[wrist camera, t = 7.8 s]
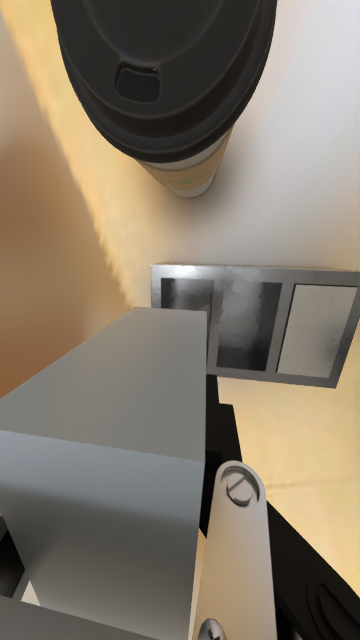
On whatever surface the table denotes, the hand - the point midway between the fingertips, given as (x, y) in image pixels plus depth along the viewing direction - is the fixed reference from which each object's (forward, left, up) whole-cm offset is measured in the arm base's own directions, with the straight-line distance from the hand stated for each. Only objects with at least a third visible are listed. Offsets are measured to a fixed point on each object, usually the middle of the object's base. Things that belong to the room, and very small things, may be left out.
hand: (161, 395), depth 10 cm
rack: (-6, 0, -17) cm, 18 cm away
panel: (0, 0, -2) cm, 2 cm away
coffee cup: (+1, -16, -17) cm, 23 cm away
